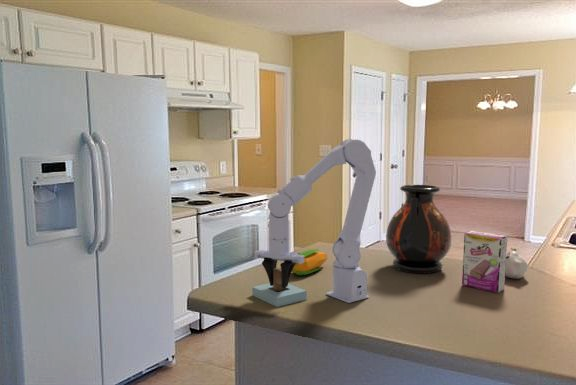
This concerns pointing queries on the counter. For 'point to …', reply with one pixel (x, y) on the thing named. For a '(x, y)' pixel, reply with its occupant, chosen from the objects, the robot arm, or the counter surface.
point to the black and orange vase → (418, 232)
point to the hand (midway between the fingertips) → (279, 285)
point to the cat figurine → (515, 265)
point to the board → (279, 294)
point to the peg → (277, 280)
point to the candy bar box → (484, 261)
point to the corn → (310, 262)
